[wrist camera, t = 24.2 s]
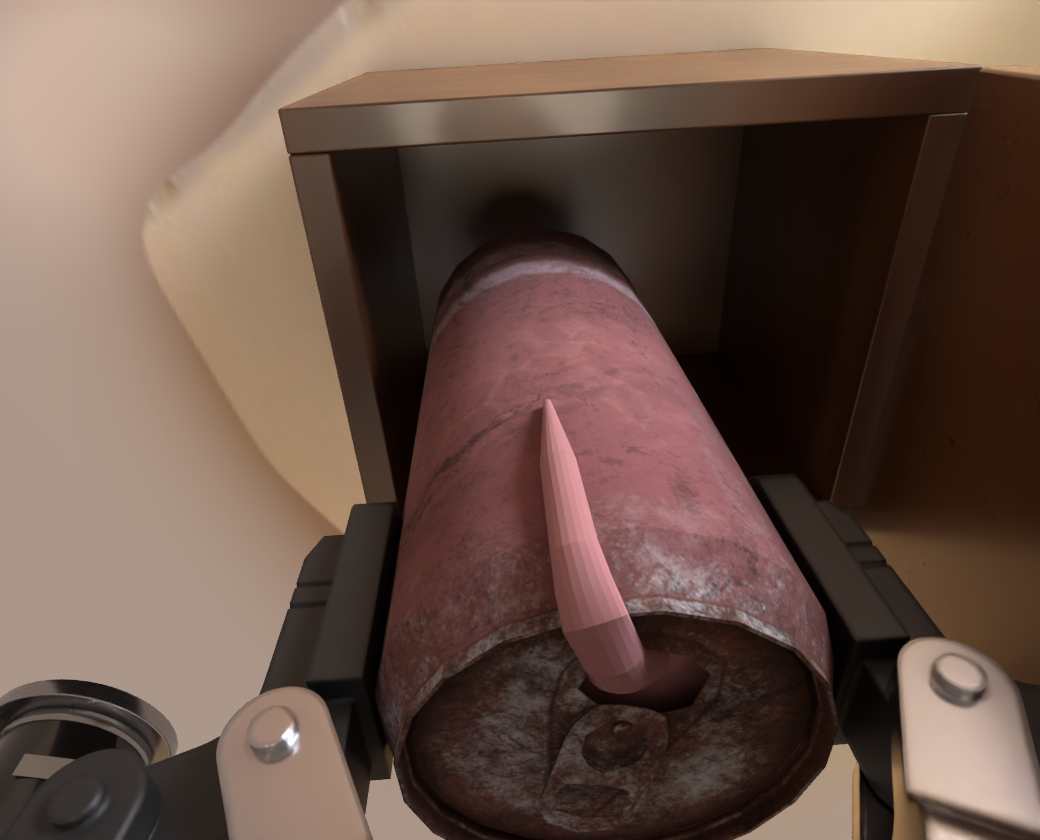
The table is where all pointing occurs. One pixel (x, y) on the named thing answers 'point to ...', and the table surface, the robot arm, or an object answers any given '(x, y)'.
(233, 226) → the table surface
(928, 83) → the chest
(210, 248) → the table surface
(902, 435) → the lid
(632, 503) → the can
